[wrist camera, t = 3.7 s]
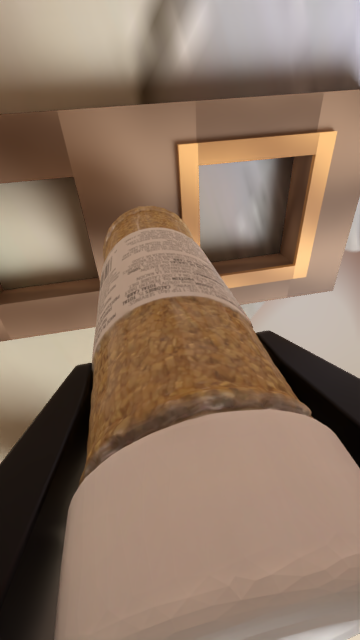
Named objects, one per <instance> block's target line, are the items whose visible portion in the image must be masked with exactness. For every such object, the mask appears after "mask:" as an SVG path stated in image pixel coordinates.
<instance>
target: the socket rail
mask: <svg viewBox="0 0 360 640" xmlns="http://www.w3.org/2000/svg"><path fill="white" fill-rule="evenodd" d="M283 157H294V160H293V167H292V174H291V180H290V187H289V194H288V201H287V207H286V214H285V221H284V228H283V234H282V241H281V248H280V253H278V254H270V255H263V256H255V257H248V258H241V259H233V260H226V261H218V262H211V263H212V265H213V266H214V268H215V269H216V271H217V272H218V274H219V275H220V277H221V278H222V280H223V281H224V283H225V284H226V286H227V287H228V289H229V290H230V291H231V293H232V294H233V296H234V297H235V299H236V300H237V302H238V303H239V305H242V304H249V303H255V302H262V301H268V300H275V299H281V298H288V297H294V296H301V295H307V294H313V293H321V292H327V291H332V290H333V288H334V285H335V281H336V278H337V274H338V271H339V267H340V263H341V260H342V257H343V253H344V250H345V246H346V243H347V239H348V236H349V232H350V229H351V225H352V222H353V218H354V214H355V211H356V207H357V204H358V200H359V197H360V89H358V90H344V91H330V92H315V93H301V94H286V95H272V96H258V97H243V98H229V99H214V100H200V101H186V102H171V103H157V104H142V105H128V106H113V107H99V108H85V109H70V110H56V111H41V112H27V113H13V114H0V184H1V183H11V182H22V181H32V180H43V179H53V178H64V177H74V180H75V184H76V188H77V192H78V196H79V200H80V204H81V208H82V212H83V216H84V220H85V224H86V228H87V232H88V236H89V240H90V244H91V248H92V252H93V256H94V260H95V264H96V268H97V272H98V276H99V278H92V279H84V280H77V281H69V282H62V283H54V284H47V285H40V286H32V287H25V288H17V289H10V290H4V289H3V287H2V285H1V283H0V341H7V340H13V339H20V338H26V337H33V336H40V335H46V334H53V333H59V332H66V331H72V330H79V329H85V328H92V327H96V321H97V310H98V300H99V291H100V281H101V273H102V268H103V265H104V257H103V246H104V240H105V237H106V235H107V232H108V229H109V228H110V226H111V225H112V224H113V222H114V221H115V220H117V218H118V217H119V216H121V215H122V214H124V213H125V212H127V211H129V210H131V209H134V208H137V207H139V206H156V207H160V208H164V209H166V210H168V211H170V212H173V213H175V214H176V215H178V216H179V217H180V219H181V220H182V221H183V222H184V223H185V224H186V225H187V227H188V228H189V230H190V232H191V234H192V236H193V239H194V241H195V242H196V243H197V244H198V245H199V247H200V215H199V168H198V166H199V165H210V164H220V163H231V162H241V161H252V160H262V159H273V158H283Z"/></svg>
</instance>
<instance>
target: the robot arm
mask: <svg viewBox="0 0 360 640" xmlns="http://www.w3.org/2000/svg"><path fill="white" fill-rule="evenodd" d="M256 335H257V337H258V339H259V341H260V342H261V343H262V345H263V347H264V348H265V349H266V351H267V352H268V354H269V356H270V358H271V359H272V361H273V363H274V364H275V366H276V367H277V368H278V370H279V371H280V373H281V374H282V375H283V377H284V378H285V380H286V382H287V384H289V386H290V387H291V389H292V391H293V393H294V394H295V395H296V397H297V398H298V400H299V401H300V402H302V403H304V404H305V405H306V406H307V407H308V408H309V409H310V410H311V412H312V413H311V416H312V417H313V418H314V419H316V420H317V421H319V422H321V423H322V424H324V425H325V426H327V427H328V428H330V429H331V430H332V431H333V432H334V433H335V434H336V435H337V437H338V438H339V440H340V441H341V443H342V444H343V445H344V447H345V448H346V450H347V451H348V452H349V454H350V455H351V457H352V458H353V460H354V461H355V462H356V464H357V465H358V467H359V468H360V379H359V378H357V377H356V376H354V375H352V374H350V373H348V372H346V371H344V370H343V369H341V368H339V367H337V366H335V365H333V364H331V363H329V362H327V361H326V360H324V359H322V358H320V357H318V356H316V355H315V354H313V353H311V352H309V351H307V350H305V349H303V348H301V347H299V346H298V345H296V344H294V343H292V342H290V341H288V340H286V339H285V338H283V337H281V336H279V335H277V334H275V333H273V332H271V331H263V332H257V333H256ZM92 390H93V371H92V363H87V364H82V365H77V366H76V367H75V368H74V369H73V370H72V372H71V373H70V374H69V376H68V377H67V378H66V379H65V381H64V382H63V383H62V385H61V386H60V387H59V388H58V390H57V391H56V392H55V394H54V395H53V396H52V398H51V399H50V400H49V401H48V403H47V404H46V405H45V407H44V408H43V409H42V411H41V412H40V413H39V414H38V416H37V417H36V418H35V420H34V421H33V422H32V423H31V425H30V426H29V427H28V429H27V430H26V431H25V433H24V434H23V435H22V436H21V438H20V439H19V440H18V442H17V443H16V444H15V446H14V447H13V448H12V449H11V451H10V452H9V453H8V455H7V456H6V457H5V458H4V460H3V461H2V462H1V464H0V640H54V634H55V623H56V613H57V603H58V593H59V582H60V572H61V563H62V555H63V547H64V539H65V532H66V524H67V516H68V509H69V506H70V503H71V500H72V498H73V496H74V494H75V493H76V491H77V489H78V487H79V482H80V478H81V476H82V473H83V471H84V468H85V464H86V458H87V441H88V434H89V419H90V412H91V393H92Z"/></svg>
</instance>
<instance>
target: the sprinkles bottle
mask: <svg viewBox="0 0 360 640" xmlns="http://www.w3.org/2000/svg"><path fill="white" fill-rule="evenodd" d="M103 257H104V265H103V268H102V273H101V281H100V291H99V300H98V310H97V321H96V330H95V338H94V347H93V356H92V371H93V390H92V393H91V412H90V419H89V434H88V441H87V458H86V464H85V468H84V471H83V473H82V476H81V478H80V482H79V487H78V489H77V491H76V493H75V494H74V496H73V498H72V500H71V503H70V506H69V509H68V516H67V524H66V532H65V539H64V547H63V555H62V563H61V572H60V582H59V593H58V603H57V613H56V623H55V634H54V640H347V639H349V638H351V637H353V636H355V635H357V634H360V468H359V467H358V465H357V464H356V462H355V461H354V460H353V458H352V457H351V455H350V454H349V452H348V451H347V450H346V448H345V447H344V445H343V444H342V443H341V441H340V440H339V438H338V437H337V435H336V434H335V433H334V432H333V431H332V430H331V429H330V428H328V427H327V426H325V425H324V424H322V423H321V422H319V421H317V420H316V419H314V418H313V417H312V416H311V413H312V412H311V410H310V409H309V408H308V407H307V406H306V405H305V404H304V403H302V402H300V401H299V400H298V398H297V397H296V395H295V394H294V393H293V391H292V389H291V387H290V386H289V384H287V382H286V380H285V378H284V377H283V375H282V374H281V373H280V371H279V370H278V368H277V367H276V366H275V364H274V363H273V361H272V359H271V358H270V356H269V354H268V352H267V351H266V349H265V348H264V347H263V345H262V343H261V342H260V341H259V339H258V337H257V335H256V333H255V332H254V330H253V327H252V324H251V321H250V320H249V318H248V317H247V315H246V314H245V312H244V311H243V309H242V308H241V306H240V305H239V303H238V302H237V300H236V299H235V297H234V296H233V294H232V293H231V291H230V290H229V289H228V287H227V286H226V284H225V283H224V281H223V280H222V278H221V277H220V275H219V274H218V272H217V271H216V269H215V268H214V266H213V265H212V263H211V262H210V261H209V259H208V258H207V256H206V255H205V253H204V252H203V250H202V249H201V248H200V247H199V245H198V244H197V243H196V242H195V241H194V239H193V236H192V234H191V232H190V230H189V228H188V227H187V225H186V224H185V223H184V222H183V221H182V220H181V219H180V217H179V216H178V215H176V214H175V213H173V212H170V211H168V210H166V209H164V208H160V207H156V206H139V207H137V208H134V209H131V210H129V211H127V212H125V213H124V214H122V215H121V216H119V217H118V218H117V220H115V221H114V222H113V224H112V225H111V226H110V228H109V229H108V232H107V235H106V237H105V240H104V246H103Z"/></svg>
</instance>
